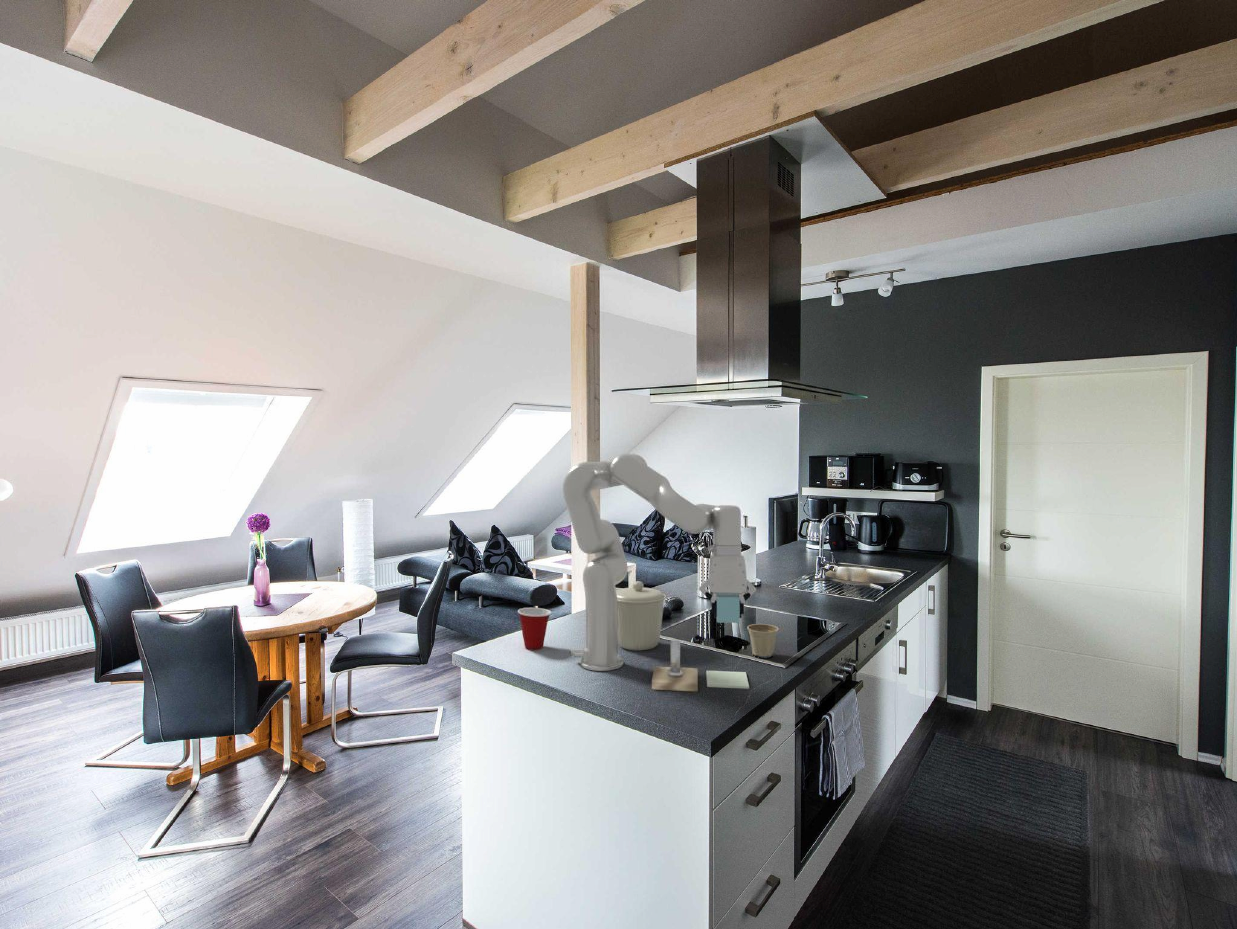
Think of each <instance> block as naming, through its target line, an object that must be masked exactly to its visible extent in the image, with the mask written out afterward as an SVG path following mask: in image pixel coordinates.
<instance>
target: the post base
mask: <svg viewBox="0 0 1237 929" xmlns="http://www.w3.org/2000/svg"><path fill="white" fill-rule="evenodd" d="M669 669H671V666H654V669H653V673H652V678H651V690H660V691H678V692H679V691H680V692H681V691H683V692H698V690H699V689H698V685H699V684H698V683H699V682H698V678H699V677H698V674H699V673H698V671H699V670H698V668H696V667H695V668H694V667H680V670H682V671H683V676H681V677H670V676H668V670H669Z"/></svg>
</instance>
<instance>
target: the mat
mask: <svg viewBox="0 0 1237 929" xmlns="http://www.w3.org/2000/svg"><path fill="white" fill-rule="evenodd" d="M705 674H706V687H707V688H724V689H727V688H728V689H747V690H749V689H750V685H749V681H748V677H747V672H746V671H725V670H706V673H705Z"/></svg>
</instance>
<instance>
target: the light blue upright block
mask: <svg viewBox="0 0 1237 929" xmlns="http://www.w3.org/2000/svg"><path fill="white" fill-rule="evenodd" d="M716 602H717V617H716V623H723V624H724V623H727V624H730V623H732V624H740V622H741V620H740V619H741V618H740V599H739V596H738V594H720V593H718V595H717V598H716Z"/></svg>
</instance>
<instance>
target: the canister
mask: <svg viewBox="0 0 1237 929" xmlns="http://www.w3.org/2000/svg"><path fill="white" fill-rule="evenodd" d="M616 594H617V601H618V646H620V647H621V648H623V649H625V650H629V651H636V652H637V651H638V652H639V651H649V650H652V649H654V648H655V647H657V646H658V645H659V642H660V637H661V629H662V625H663V624H662V621H663V613H664V606H665V605H664V603H665V600H666V599H667V595H666V594H665V593H663V592H662V591H661V590H658V589H655V588H650V587H644V583H643V582H642V581H638V580H637V581H634V582H633V583H632V587H624V588H620V589H617V590H616Z"/></svg>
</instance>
